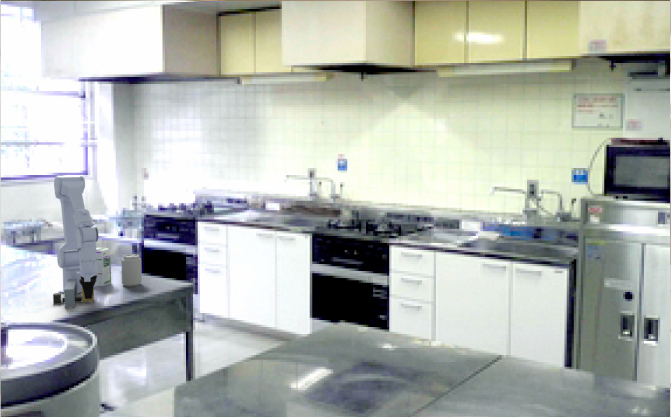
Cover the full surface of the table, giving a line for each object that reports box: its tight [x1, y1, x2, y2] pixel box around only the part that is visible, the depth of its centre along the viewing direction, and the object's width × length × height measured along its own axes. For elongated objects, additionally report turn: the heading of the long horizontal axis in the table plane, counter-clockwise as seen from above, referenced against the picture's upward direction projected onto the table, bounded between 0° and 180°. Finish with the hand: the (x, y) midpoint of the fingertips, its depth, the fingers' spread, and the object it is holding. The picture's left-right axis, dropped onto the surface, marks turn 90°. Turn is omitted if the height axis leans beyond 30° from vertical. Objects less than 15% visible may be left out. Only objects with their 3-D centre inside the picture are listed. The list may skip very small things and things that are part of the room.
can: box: [121, 253, 143, 288], centre depth 264 cm, size 8×8×12 cm
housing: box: [63, 279, 79, 309], centre depth 237 cm, size 3×17×7 cm, turn 18°
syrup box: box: [94, 247, 112, 287], centre depth 264 cm, size 6×6×14 cm
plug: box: [52, 287, 95, 305], centre depth 238 cm, size 14×4×5 cm, turn 107°
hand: (88, 297), depth 239 cm, fingers closed on plug, 4 cm apart
